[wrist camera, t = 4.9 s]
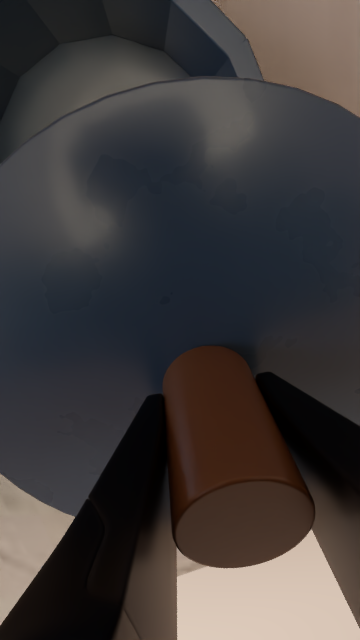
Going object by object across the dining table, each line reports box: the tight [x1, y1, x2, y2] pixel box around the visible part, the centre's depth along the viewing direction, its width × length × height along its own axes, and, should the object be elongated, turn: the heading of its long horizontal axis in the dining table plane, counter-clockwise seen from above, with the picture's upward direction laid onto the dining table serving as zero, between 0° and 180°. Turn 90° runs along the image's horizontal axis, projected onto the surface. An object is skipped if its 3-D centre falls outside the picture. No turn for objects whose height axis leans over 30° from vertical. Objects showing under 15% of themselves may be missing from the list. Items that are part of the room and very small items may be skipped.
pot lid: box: [0, 76, 360, 568], centre depth 8 cm, size 15×15×5 cm
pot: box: [0, 0, 264, 164], centre depth 15 cm, size 14×19×6 cm
